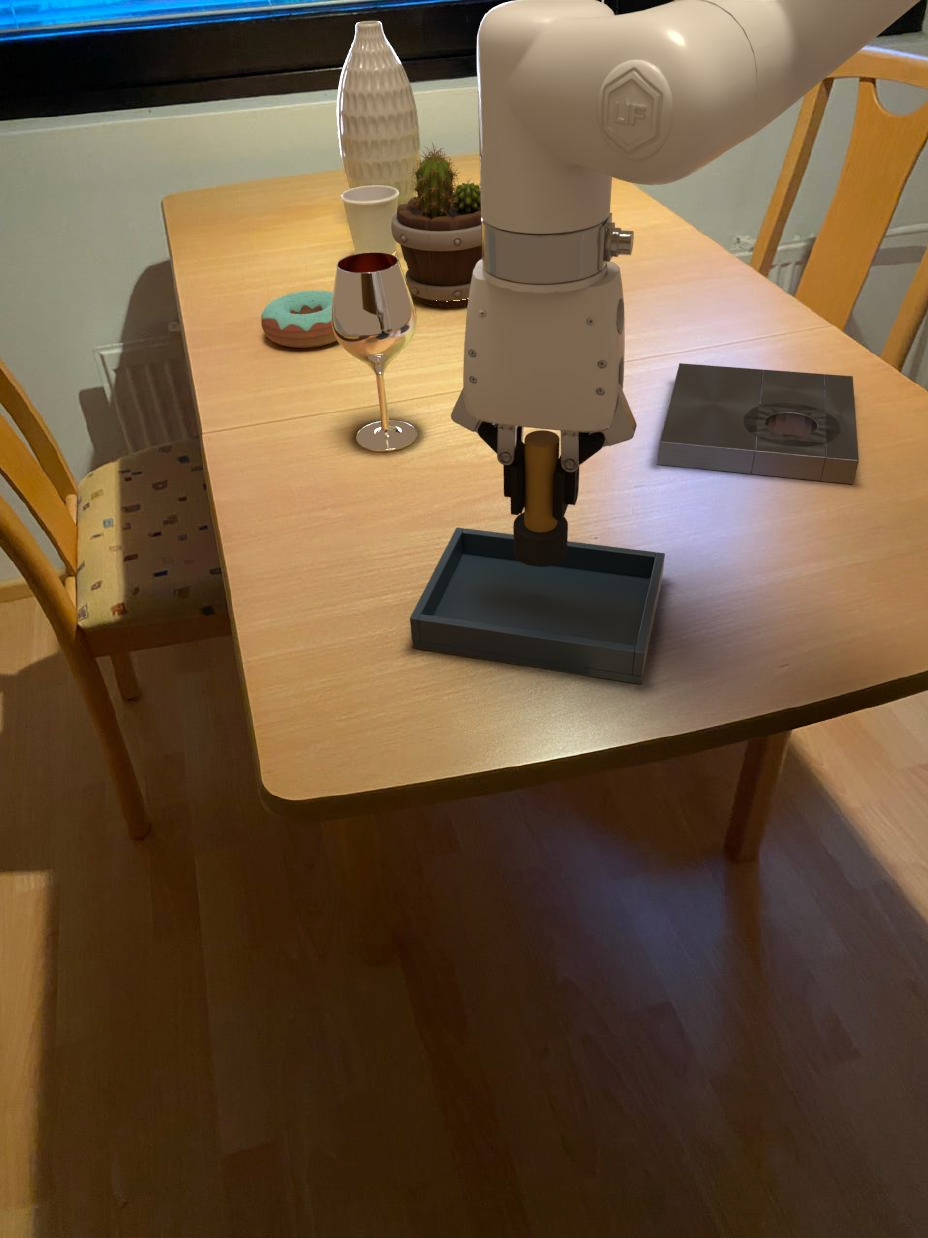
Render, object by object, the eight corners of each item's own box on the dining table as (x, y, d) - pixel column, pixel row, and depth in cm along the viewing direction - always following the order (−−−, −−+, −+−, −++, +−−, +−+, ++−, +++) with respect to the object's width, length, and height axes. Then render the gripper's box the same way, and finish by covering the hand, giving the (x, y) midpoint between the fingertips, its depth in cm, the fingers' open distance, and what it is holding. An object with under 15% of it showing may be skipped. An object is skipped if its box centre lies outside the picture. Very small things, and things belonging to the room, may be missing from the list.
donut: (244, 344, 118) (238, 313, 115) (300, 310, 126) (295, 280, 123) (322, 359, 113) (317, 327, 110) (374, 323, 121) (371, 292, 118)
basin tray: (661, 582, 76) (665, 552, 74) (641, 684, 67) (644, 653, 65) (458, 555, 80) (456, 526, 78) (412, 648, 71) (409, 618, 69)
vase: (370, 208, 161) (351, 15, 143) (437, 214, 157) (425, 16, 139) (334, 230, 152) (308, 28, 134) (404, 237, 148) (387, 29, 130)
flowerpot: (425, 270, 135) (414, 118, 123) (522, 282, 130) (521, 124, 117) (376, 306, 125) (358, 144, 113) (479, 321, 120) (473, 152, 107)
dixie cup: (341, 272, 136) (332, 200, 130) (359, 253, 143) (351, 184, 136) (395, 274, 135) (389, 202, 128) (411, 255, 141) (406, 185, 135)
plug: (571, 539, 71) (576, 427, 65) (561, 570, 68) (565, 455, 62) (520, 533, 72) (520, 421, 66) (508, 563, 69) (506, 449, 63)
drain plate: (847, 397, 99) (853, 375, 98) (852, 484, 86) (859, 460, 84) (676, 383, 104) (679, 362, 102) (656, 464, 90) (659, 441, 89)
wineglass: (440, 439, 96) (428, 263, 85) (372, 464, 93) (350, 284, 81) (399, 411, 101) (383, 241, 90) (333, 434, 98) (308, 261, 87)
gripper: (687, 233, 56) (659, 493, 68) (435, 221, 60) (449, 469, 72) (674, 277, 51) (645, 551, 63) (397, 261, 55) (419, 522, 66)
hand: (540, 505), depth 67 cm, fingers closed on plug, 2 cm apart
